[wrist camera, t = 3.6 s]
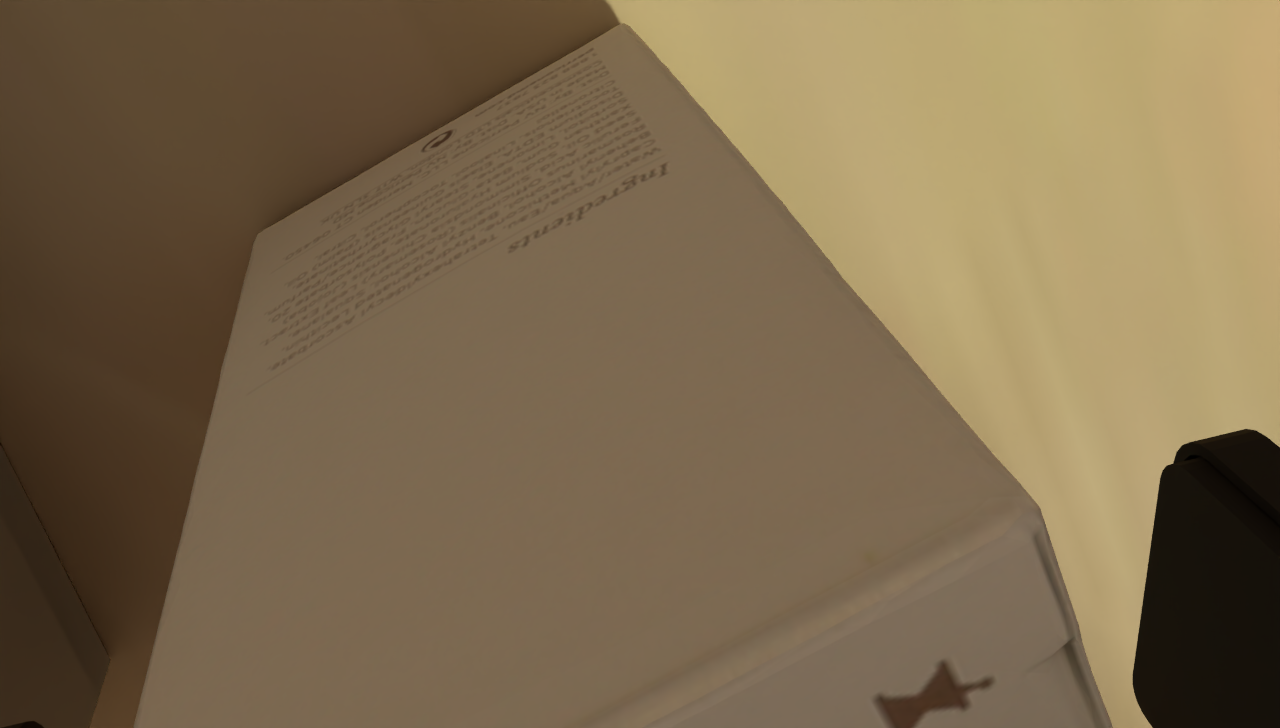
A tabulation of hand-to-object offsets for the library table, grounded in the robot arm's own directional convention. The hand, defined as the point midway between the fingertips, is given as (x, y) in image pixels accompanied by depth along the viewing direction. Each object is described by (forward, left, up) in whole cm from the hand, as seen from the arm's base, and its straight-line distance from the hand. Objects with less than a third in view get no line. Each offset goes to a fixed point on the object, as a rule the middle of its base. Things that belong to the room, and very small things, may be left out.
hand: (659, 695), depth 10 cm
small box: (0, +1, -8) cm, 7 cm away
